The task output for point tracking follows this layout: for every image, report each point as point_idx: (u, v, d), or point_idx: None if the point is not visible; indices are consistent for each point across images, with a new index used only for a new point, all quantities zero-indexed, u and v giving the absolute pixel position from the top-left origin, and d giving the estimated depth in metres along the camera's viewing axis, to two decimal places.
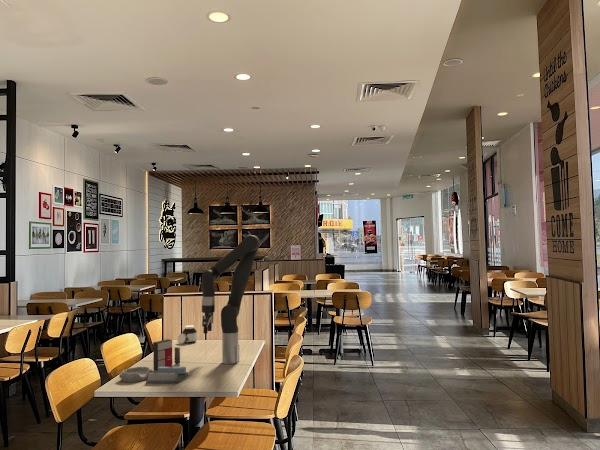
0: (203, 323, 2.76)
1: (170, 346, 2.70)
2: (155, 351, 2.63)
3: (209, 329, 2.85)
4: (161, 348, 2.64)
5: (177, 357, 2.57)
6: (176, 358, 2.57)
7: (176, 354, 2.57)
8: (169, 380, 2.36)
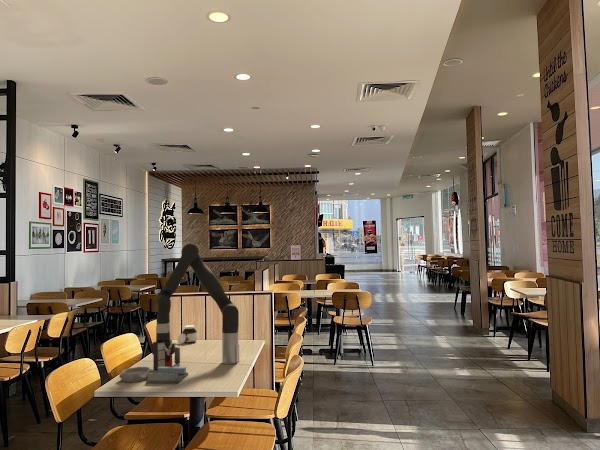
0: None
1: (170, 346, 2.70)
2: (155, 351, 2.63)
3: None
4: (161, 348, 2.64)
5: (177, 357, 2.57)
6: (176, 358, 2.57)
7: (176, 354, 2.57)
8: (169, 380, 2.36)
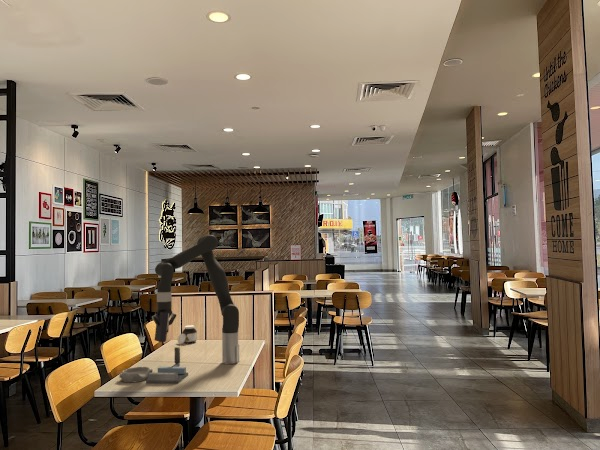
0: (171, 321, 2.58)
1: None
2: (165, 321, 2.52)
3: None
4: None
5: (177, 357, 2.57)
6: (176, 358, 2.57)
7: (176, 354, 2.57)
8: (169, 380, 2.36)
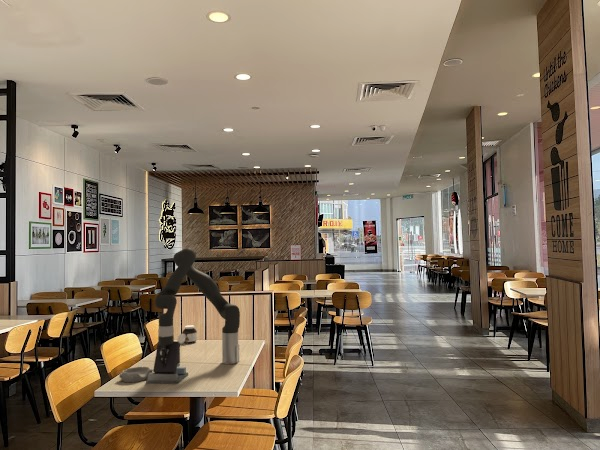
0: None
1: None
2: (178, 351, 2.44)
3: None
4: None
5: None
6: None
7: None
8: (169, 380, 2.36)
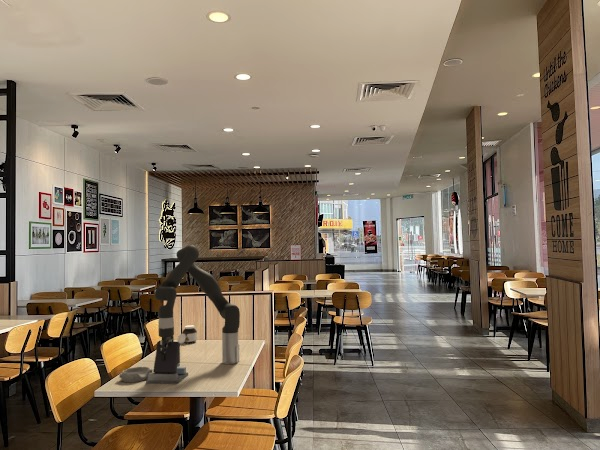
0: None
1: None
2: (178, 351, 2.44)
3: None
4: None
5: None
6: None
7: None
8: (169, 380, 2.36)
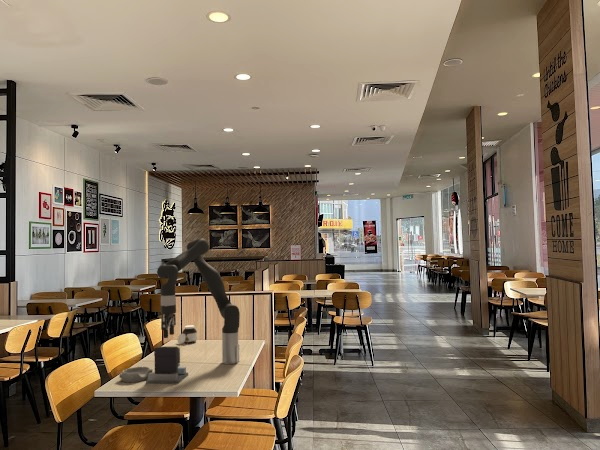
0: (174, 322, 2.52)
1: None
2: (177, 356, 2.43)
3: None
4: None
5: None
6: None
7: None
8: (169, 380, 2.36)
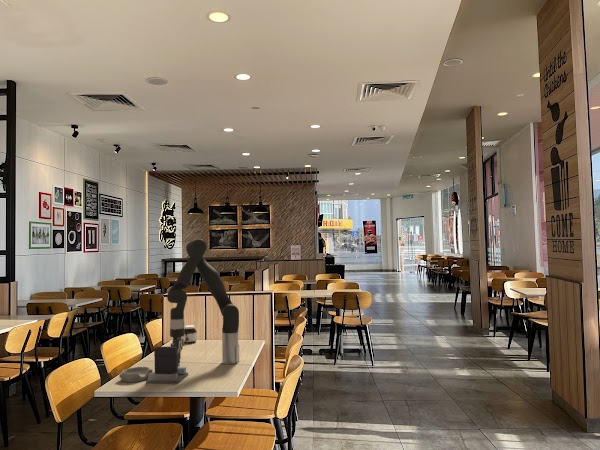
0: None
1: None
2: (177, 356, 2.43)
3: None
4: None
5: None
6: None
7: None
8: (169, 380, 2.36)
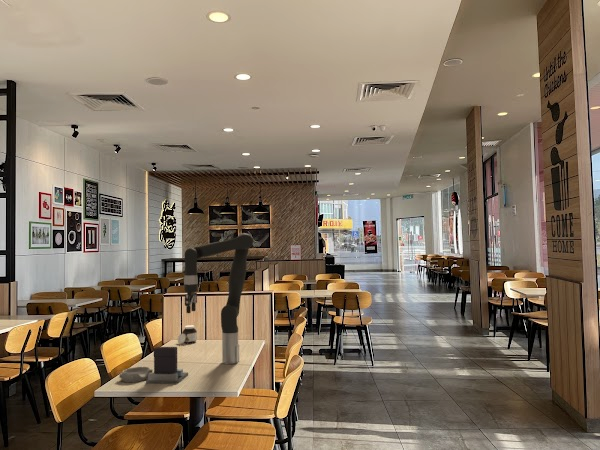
0: (195, 300, 2.80)
1: None
2: (176, 356, 2.42)
3: None
4: None
5: None
6: None
7: None
8: (169, 380, 2.36)
